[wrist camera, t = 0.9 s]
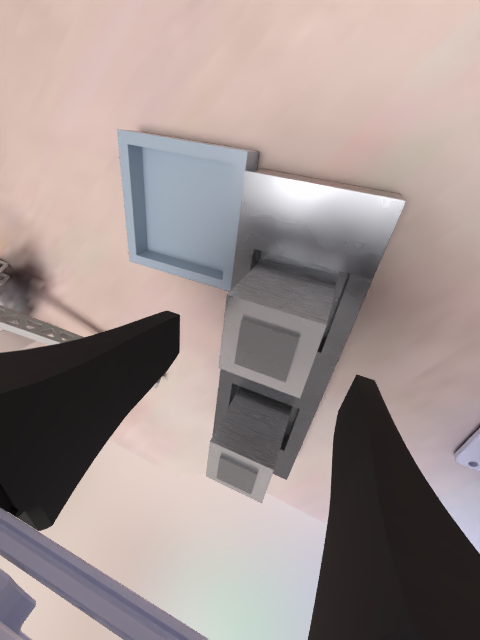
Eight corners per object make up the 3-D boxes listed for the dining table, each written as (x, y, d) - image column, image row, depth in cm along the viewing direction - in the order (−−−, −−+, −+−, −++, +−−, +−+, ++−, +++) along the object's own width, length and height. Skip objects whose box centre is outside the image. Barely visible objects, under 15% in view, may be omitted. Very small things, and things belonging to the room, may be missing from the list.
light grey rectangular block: (339, 270, 15) (326, 328, 10) (318, 330, 17) (299, 401, 12) (269, 252, 16) (225, 296, 11) (257, 311, 18) (216, 370, 13)
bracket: (-54, 238, 26) (-166, 308, 18) (176, 304, 32) (162, 376, 25) (-47, 266, 27) (-146, 340, 20) (169, 323, 34) (154, 395, 27)
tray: (259, 151, 15) (247, 151, 13) (240, 281, 19) (230, 291, 17) (139, 131, 16) (117, 129, 15) (146, 253, 21) (129, 261, 19)
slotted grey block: (295, 396, 21) (273, 473, 16) (283, 429, 23) (260, 506, 18) (244, 377, 21) (208, 444, 17) (238, 410, 24) (204, 478, 19)
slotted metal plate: (400, 193, 13) (406, 200, 11) (293, 454, 25) (286, 479, 23) (261, 168, 15) (245, 170, 13) (222, 424, 27) (211, 445, 25)
